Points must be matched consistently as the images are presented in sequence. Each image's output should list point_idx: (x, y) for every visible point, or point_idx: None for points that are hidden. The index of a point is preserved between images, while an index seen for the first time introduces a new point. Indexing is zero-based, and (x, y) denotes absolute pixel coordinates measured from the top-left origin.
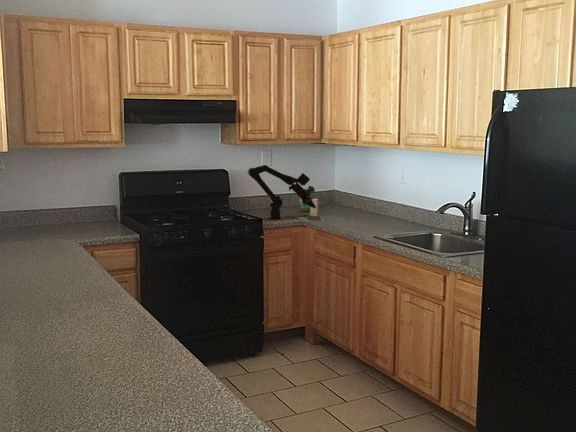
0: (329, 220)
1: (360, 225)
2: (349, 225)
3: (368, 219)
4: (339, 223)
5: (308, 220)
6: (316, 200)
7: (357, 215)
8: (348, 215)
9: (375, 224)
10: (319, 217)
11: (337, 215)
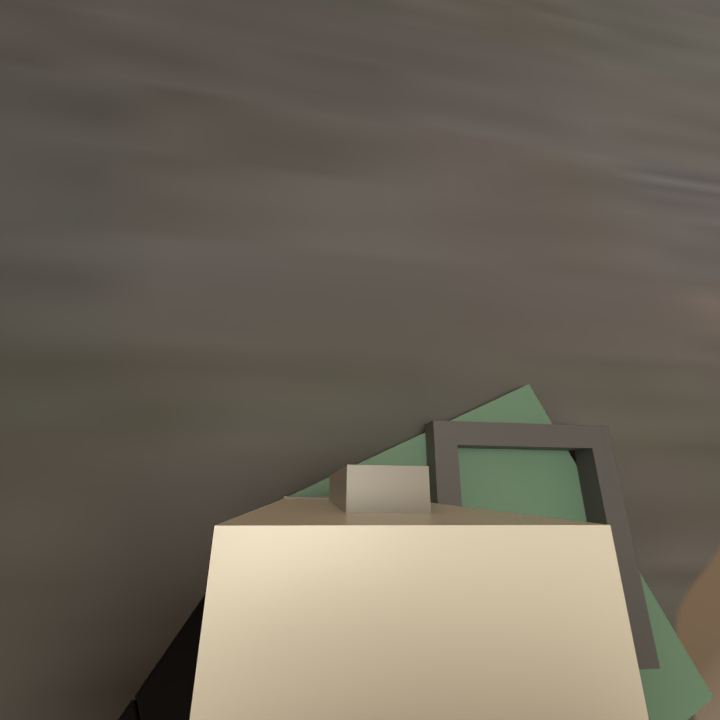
0: (482, 333)
1: (671, 114)
2: (705, 186)
3: (366, 12)
4: (639, 251)
5: (670, 635)
6: (589, 557)
7: (115, 35)
8: (101, 105)
9: (591, 24)
10: (453, 455)
11: (81, 210)
